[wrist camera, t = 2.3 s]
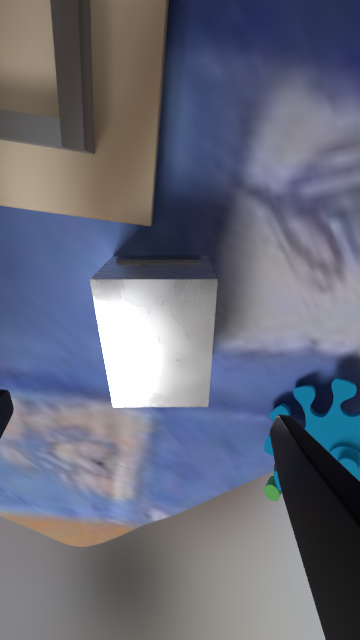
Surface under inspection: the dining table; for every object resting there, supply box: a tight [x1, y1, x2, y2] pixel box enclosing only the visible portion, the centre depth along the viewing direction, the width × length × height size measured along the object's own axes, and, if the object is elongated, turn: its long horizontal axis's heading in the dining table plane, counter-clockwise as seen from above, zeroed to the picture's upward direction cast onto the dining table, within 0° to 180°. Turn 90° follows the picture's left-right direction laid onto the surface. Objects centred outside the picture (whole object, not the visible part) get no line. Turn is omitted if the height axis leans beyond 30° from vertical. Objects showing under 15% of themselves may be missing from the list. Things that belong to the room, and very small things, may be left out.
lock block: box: [90, 256, 218, 407], centre depth 13 cm, size 5×7×4 cm
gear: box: [264, 377, 360, 501], centre depth 17 cm, size 11×6×10 cm
